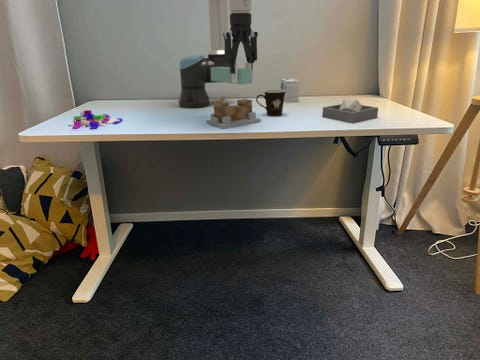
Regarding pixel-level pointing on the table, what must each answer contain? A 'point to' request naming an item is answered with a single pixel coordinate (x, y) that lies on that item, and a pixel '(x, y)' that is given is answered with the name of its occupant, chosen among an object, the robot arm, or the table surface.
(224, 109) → the wooden grain block
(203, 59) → the robot arm
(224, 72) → the green rectangular block
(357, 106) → the white irregular lump
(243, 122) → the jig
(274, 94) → the coffee mug
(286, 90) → the light bulb box
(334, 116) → the dice tray
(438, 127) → the table surface
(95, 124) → the building block set
